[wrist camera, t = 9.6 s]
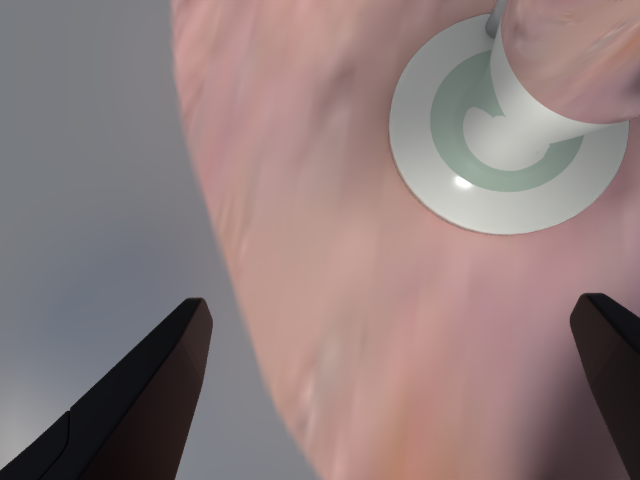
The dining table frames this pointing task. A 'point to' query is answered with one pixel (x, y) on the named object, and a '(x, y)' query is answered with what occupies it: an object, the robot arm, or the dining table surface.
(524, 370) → the dining table surface
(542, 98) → the beer glass
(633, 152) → the dining table surface
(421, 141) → the grey peg stand
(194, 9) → the dining table surface
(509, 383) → the dining table surface
